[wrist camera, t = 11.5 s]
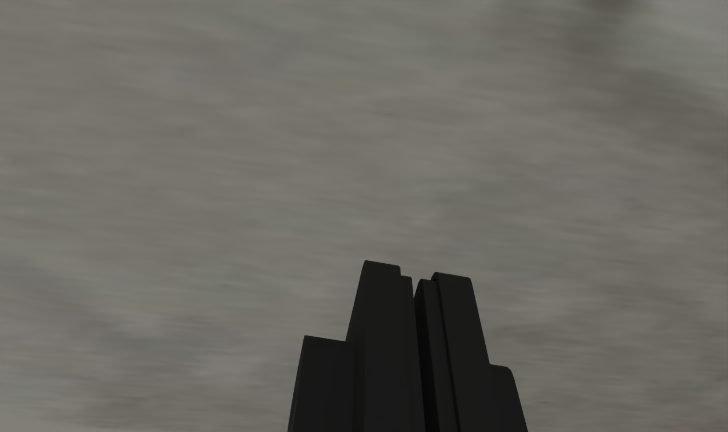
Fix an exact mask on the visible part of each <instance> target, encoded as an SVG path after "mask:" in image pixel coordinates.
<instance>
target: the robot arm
mask: <svg viewBox="0 0 728 432" xmlns="http://www.w3.org/2000/svg"><path fill="white" fill-rule="evenodd" d="M288 432H528V430H527V426H526V422H525V418H524V415H523V411H522V407H521V403H520V399H519V395H518V392H517V388H516V384H515V380H514V377H513V374H512V372H511V370H510V369H509V368H508V367H504V366H498V365H492V364H490V363H489V358H488V354H487V349H486V345H485V340H484V336H483V331H482V327H481V322H480V318H479V313H478V309H477V304H476V300H475V295H474V291H473V286H472V282H471V279H470V278H468V277H463V276H457V275H451V274H445V273H439V272H435V273H434V274H433V276H432V278H431V280H426V279H420V281H419V283H418V286H417V289H416V293H415V296H414V297H413V286H412V278H411V277H408V276H402V275H401V272H400V267H399V266H397V265H391V264H385V263H379V262H373V261H367V260H365V262H364V264H363V268H362V272H361V276H360V280H359V285H358V289H357V293H356V298H355V302H354V306H353V311H352V315H351V319H350V323H349V328H348V332H347V336H346V341H339V340H332V339H326V338H320V337H313V336H307V335H305V336H304V340H303V345H302V350H301V355H300V360H299V365H298V371H297V376H296V382H295V387H294V393H293V399H292V405H291V412H290V418H289V425H288Z"/></svg>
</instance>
